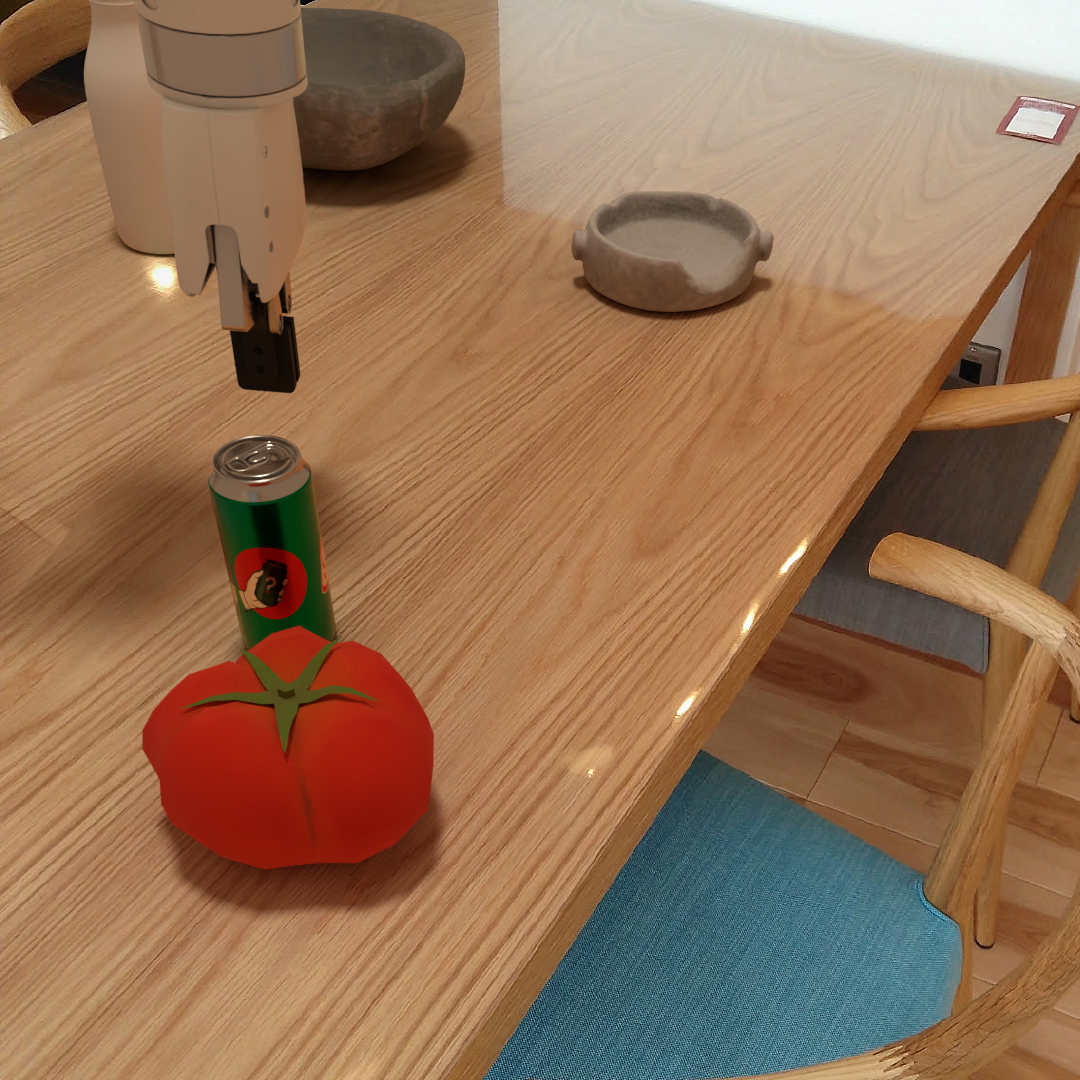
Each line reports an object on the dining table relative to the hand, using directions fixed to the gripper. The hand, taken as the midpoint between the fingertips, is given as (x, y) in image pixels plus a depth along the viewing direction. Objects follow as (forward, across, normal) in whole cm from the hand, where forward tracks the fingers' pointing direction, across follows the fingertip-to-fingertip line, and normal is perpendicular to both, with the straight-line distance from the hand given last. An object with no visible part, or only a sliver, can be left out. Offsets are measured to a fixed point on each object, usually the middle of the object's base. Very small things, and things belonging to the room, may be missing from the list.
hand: (270, 383), depth 80 cm
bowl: (+9, -55, -6) cm, 56 cm away
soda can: (+9, +12, +3) cm, 15 cm away
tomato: (+9, +25, +6) cm, 27 cm away
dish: (+8, -34, +23) cm, 43 cm away
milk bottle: (+10, -37, -17) cm, 42 cm away
